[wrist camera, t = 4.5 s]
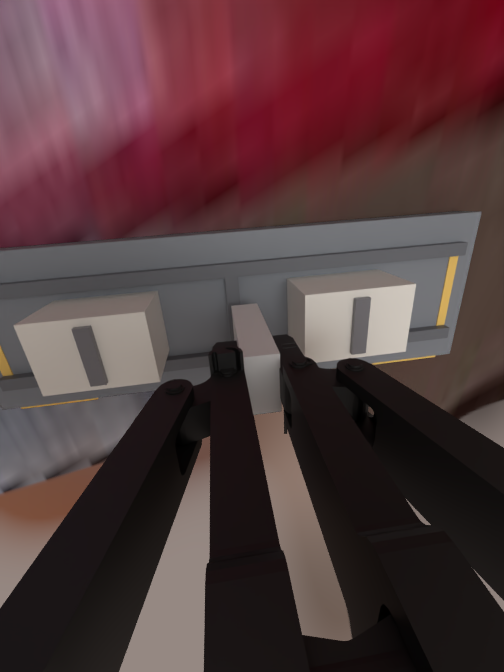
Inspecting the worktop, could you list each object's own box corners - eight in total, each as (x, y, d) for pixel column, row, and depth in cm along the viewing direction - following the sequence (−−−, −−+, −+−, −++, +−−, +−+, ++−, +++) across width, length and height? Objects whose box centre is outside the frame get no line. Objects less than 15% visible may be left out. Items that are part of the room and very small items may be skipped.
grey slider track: (21, 395, 22) (-2, 418, 20) (-45, 251, 18) (-84, 258, 15) (431, 345, 25) (454, 360, 22) (457, 211, 21) (489, 211, 18)
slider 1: (74, 360, 19) (40, 399, 15) (54, 300, 18) (9, 327, 14) (169, 349, 20) (159, 385, 16) (157, 290, 18) (143, 313, 14)
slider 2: (288, 336, 20) (306, 366, 17) (287, 278, 19) (307, 296, 15) (371, 326, 21) (408, 354, 17) (377, 269, 19) (419, 285, 15)
